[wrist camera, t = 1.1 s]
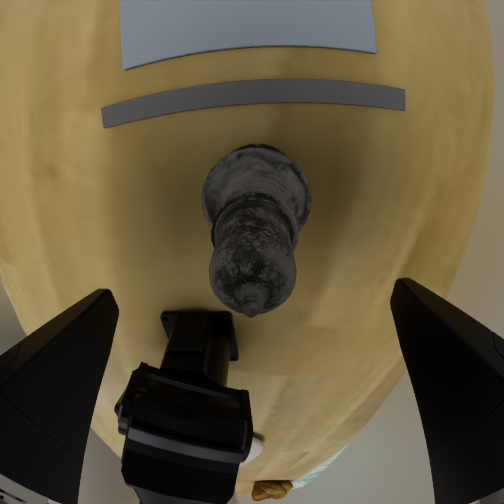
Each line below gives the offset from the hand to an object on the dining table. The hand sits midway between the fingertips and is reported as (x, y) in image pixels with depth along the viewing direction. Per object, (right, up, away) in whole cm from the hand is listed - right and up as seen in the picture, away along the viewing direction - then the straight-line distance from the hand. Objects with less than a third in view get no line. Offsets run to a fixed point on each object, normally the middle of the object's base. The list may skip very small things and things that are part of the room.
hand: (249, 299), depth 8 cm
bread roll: (+7, -72, +56) cm, 91 cm away
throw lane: (0, +16, +3) cm, 17 cm away
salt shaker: (0, +6, +10) cm, 11 cm away
